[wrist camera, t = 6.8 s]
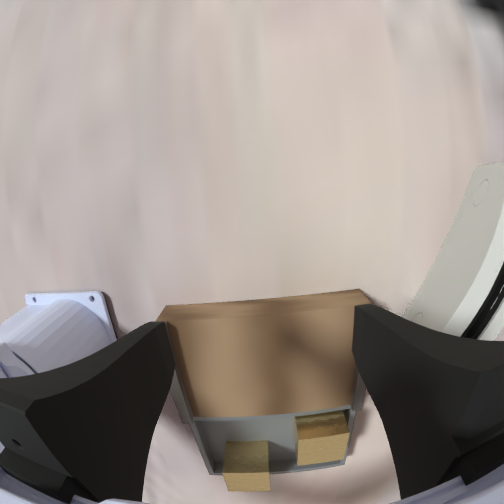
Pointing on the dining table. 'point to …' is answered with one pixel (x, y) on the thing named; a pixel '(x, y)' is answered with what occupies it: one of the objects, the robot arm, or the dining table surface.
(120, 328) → the dining table surface
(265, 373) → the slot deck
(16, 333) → the robot arm
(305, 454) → the tan wooden cube
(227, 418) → the tray
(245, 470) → the wooden cube
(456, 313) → the light grey rounded slab
